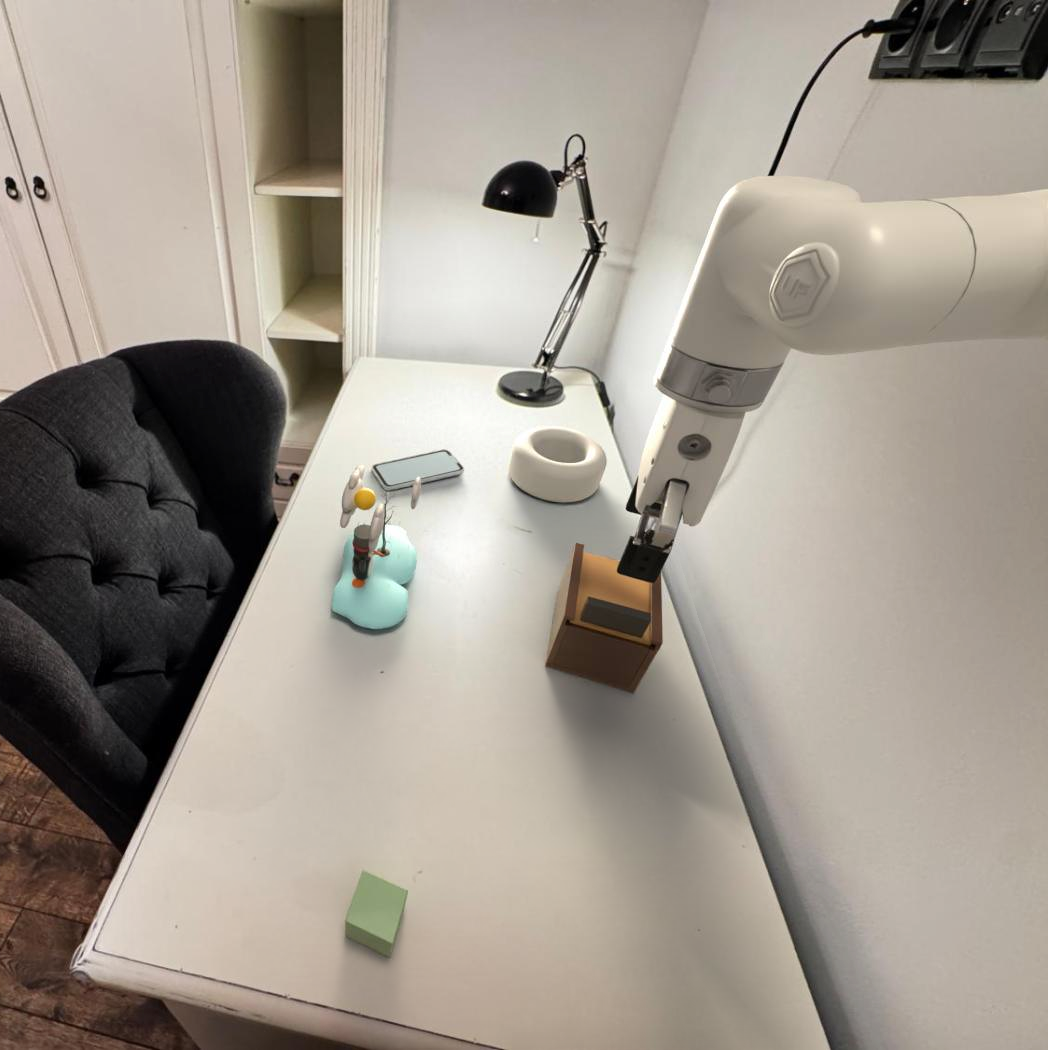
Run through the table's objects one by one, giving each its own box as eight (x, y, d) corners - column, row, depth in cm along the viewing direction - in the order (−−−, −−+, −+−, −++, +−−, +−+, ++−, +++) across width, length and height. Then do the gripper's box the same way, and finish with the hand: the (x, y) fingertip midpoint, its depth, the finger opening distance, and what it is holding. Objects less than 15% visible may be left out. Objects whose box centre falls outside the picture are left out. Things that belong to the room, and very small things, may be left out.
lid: (650, 645, 61) (661, 625, 59) (569, 622, 63) (577, 602, 61) (650, 572, 70) (660, 552, 67) (578, 554, 72) (586, 534, 70)
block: (405, 905, 49) (408, 889, 47) (390, 958, 46) (392, 944, 44) (362, 886, 50) (363, 869, 48) (344, 935, 48) (344, 921, 45)
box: (633, 693, 66) (662, 643, 60) (544, 665, 68) (564, 615, 62) (635, 613, 75) (661, 563, 69) (557, 592, 78) (575, 542, 72)
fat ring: (513, 448, 105) (520, 416, 101) (598, 464, 101) (609, 431, 97) (501, 494, 94) (509, 461, 90) (596, 514, 90) (609, 480, 86)
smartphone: (369, 465, 99) (447, 448, 103) (369, 469, 100) (446, 452, 103) (385, 488, 94) (466, 470, 98) (385, 493, 95) (465, 474, 98)
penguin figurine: (402, 640, 71) (411, 552, 61) (319, 625, 73) (315, 537, 63) (421, 537, 86) (432, 453, 76) (353, 527, 88) (354, 443, 78)
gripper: (786, 438, 35) (681, 620, 46) (761, 339, 47) (683, 502, 58) (655, 412, 38) (585, 591, 48) (663, 324, 50) (606, 484, 61)
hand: (638, 542), depth 53 cm, fingers open, 9 cm apart
